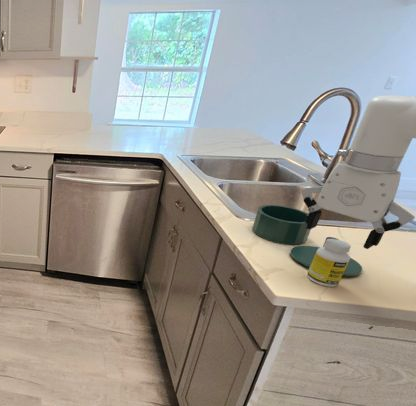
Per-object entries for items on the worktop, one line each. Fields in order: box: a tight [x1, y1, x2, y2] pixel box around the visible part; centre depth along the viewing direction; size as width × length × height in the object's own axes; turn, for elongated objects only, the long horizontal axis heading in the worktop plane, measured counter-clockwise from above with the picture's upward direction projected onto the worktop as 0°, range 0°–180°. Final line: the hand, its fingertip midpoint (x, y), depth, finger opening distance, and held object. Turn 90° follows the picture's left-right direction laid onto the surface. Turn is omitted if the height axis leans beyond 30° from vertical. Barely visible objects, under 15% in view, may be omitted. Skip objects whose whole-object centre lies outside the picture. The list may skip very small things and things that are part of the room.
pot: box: [251, 204, 312, 246], centre depth 101 cm, size 12×12×6 cm
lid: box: [290, 236, 363, 277], centre depth 88 cm, size 13×13×7 cm
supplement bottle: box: [306, 238, 352, 288], centre depth 81 cm, size 5×5×10 cm
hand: (338, 236), depth 79 cm, fingers open, 9 cm apart
